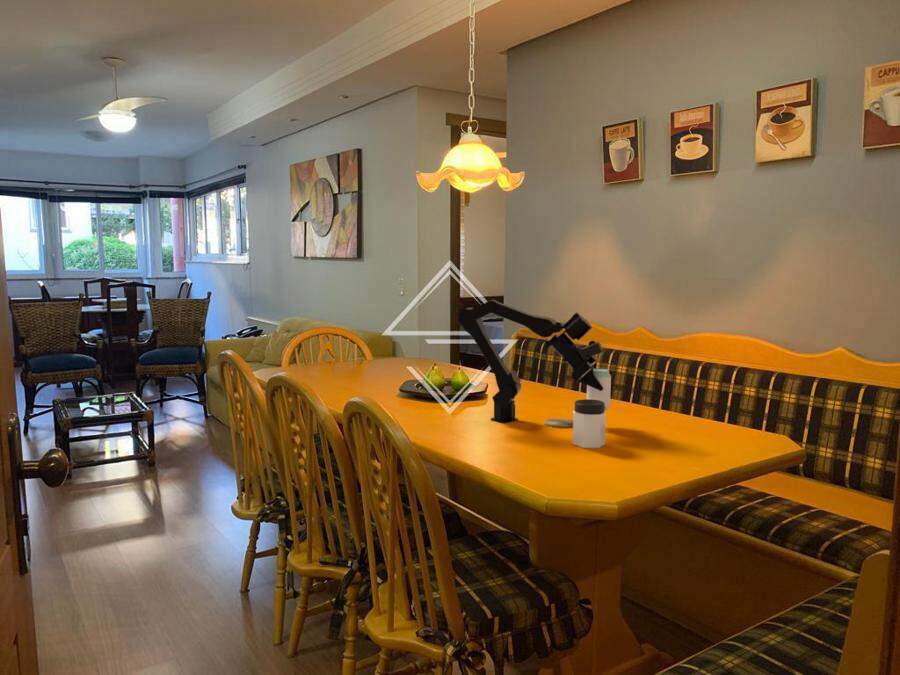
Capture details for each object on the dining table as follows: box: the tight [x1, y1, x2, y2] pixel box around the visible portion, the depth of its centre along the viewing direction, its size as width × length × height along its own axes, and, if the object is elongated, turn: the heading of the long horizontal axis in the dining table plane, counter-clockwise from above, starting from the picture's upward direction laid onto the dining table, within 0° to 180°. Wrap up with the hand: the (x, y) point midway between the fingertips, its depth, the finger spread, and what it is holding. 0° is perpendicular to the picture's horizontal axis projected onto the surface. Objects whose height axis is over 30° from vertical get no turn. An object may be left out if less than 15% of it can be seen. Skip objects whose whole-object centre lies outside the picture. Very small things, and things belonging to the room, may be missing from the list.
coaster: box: [544, 417, 573, 429], centre depth 212 cm, size 10×10×1 cm
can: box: [586, 368, 612, 411], centre depth 207 cm, size 7×7×12 cm
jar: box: [572, 398, 607, 449], centre depth 188 cm, size 9×8×12 cm
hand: (603, 387), depth 207 cm, fingers closed on can, 7 cm apart
